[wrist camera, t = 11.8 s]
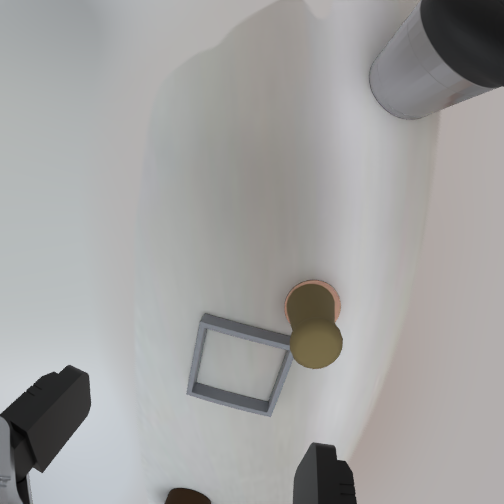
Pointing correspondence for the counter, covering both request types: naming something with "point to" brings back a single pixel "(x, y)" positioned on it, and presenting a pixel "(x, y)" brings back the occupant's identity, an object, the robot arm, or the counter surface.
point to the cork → (313, 326)
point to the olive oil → (186, 497)
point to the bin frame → (248, 334)
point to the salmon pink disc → (327, 286)
